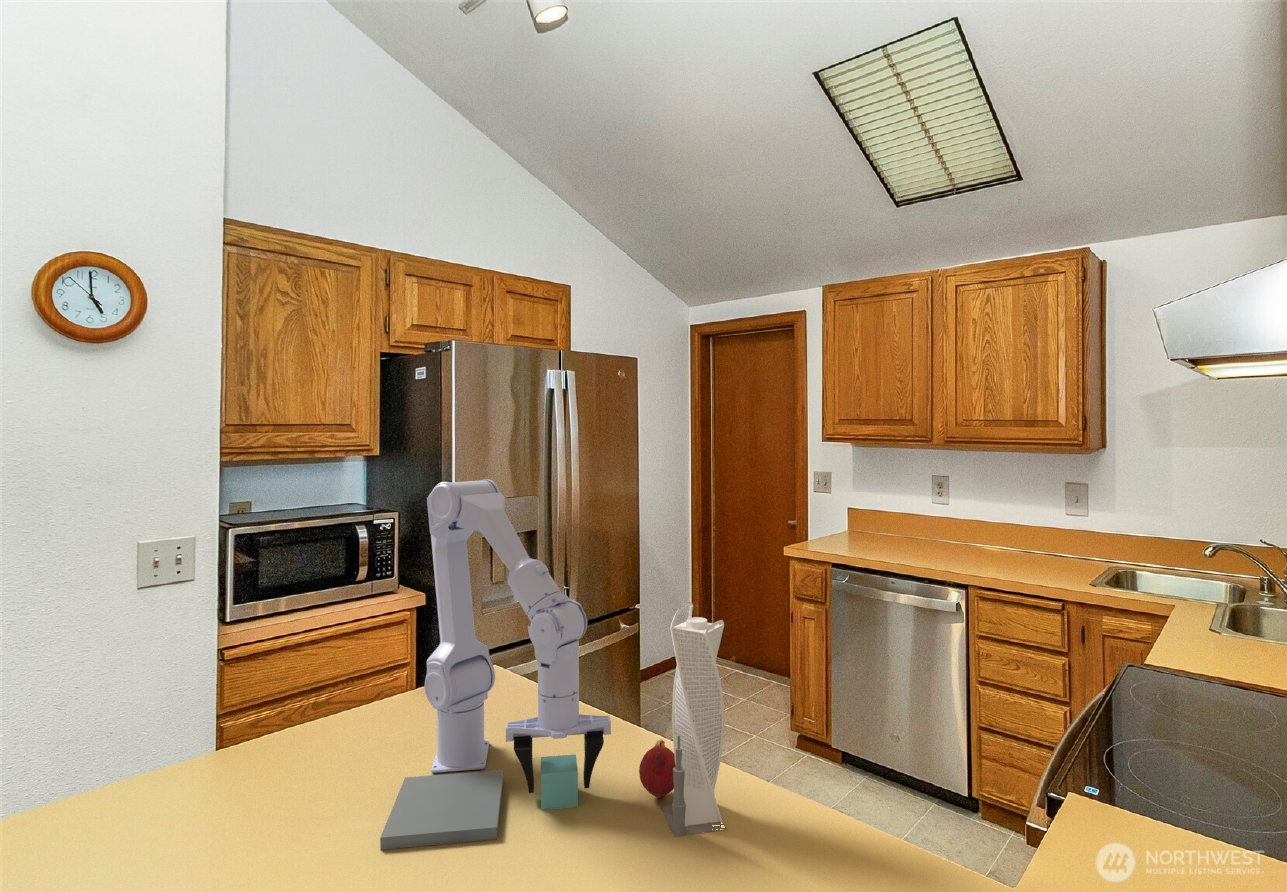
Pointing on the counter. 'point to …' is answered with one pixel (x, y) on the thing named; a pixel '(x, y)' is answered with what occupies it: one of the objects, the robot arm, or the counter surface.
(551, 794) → the cube
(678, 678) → the skyscraper
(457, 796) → the cutting board
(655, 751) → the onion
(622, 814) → the counter surface
